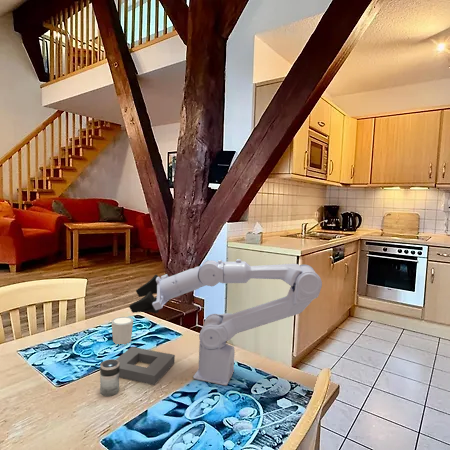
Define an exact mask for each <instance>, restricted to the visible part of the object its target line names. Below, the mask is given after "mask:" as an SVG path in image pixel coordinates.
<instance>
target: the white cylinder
mask: <svg viewBox="0 0 450 450" xmlns="http://www.w3.org/2000/svg"><path fill="white" fill-rule="evenodd" d="M133 326H134V319H133V317H129V316H120V317H115V318H113V319H112V320H111V332H112V342H114V343H115V344H114V343H113V344H114V345H117V344H119V345H118V346H121V345H120V344H124V345H128V344H130V343H131V341H132V335H133ZM129 342H130V343H129ZM127 343H128V344H127Z"/></svg>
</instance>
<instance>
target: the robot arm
mask: <svg viewBox="0 0 450 450" xmlns="http://www.w3.org/2000/svg"><path fill="white" fill-rule="evenodd" d="M251 279H259V280H260V279H261V280H262V279H263V280H282V282H284V283H286V284H287V285H289V286H290V287H289V289H288V292H287V294H286V296H283V297H281V298H277V299H274V300H271V301H268V302H265V303H261V304H259V305H256V306H252V307H249V308H246V309H243V310H239V311H237V312H234V313H228V312H227V313H226V312H225V313H222V314H221V313H220V314H219V313H211V314H209V315H208V316H206V318H205V320H204V322H203V325H202V328H201V330H200V332H199V335H198V336H199V337H198V338H199V345H198V348H199V349H198V368H197V371H196V372H195V373H194V374H193V376H192V379H193V380H198V381H203V382H207V383H211V384H217V385H222V386H228V384H229V382H230V380H231V378H232V376H233V374H234V373H235V369H234V368H235V346H233V345H230V344H228V343H227V341H230V340H231V339H233V338H234V337H235V336H236V335H237V334H239V333H240V334H241V333H243V332H245V331H249V330H252V329H255V328H258V327H261V326H264V325H268V324H271V323H274V322H279V321H280V320H283V319H286V318H290V317H293V316H296V315H299V314H302V313H303V312H304V311H305V309H306V308H307V307H309V305H310V304H311V303H312V301H314V300H315V299H317V298H319V296H320V293H321V289H322V287H323V281H322V278H321V276H320V275H319V274H318V273H317V272H316V271H315V269H314V268H313V267H312V266H311V265H308V264H298V263H282V264H281V263H279V264H264V265H250V264H249V263H248V262H247V261H245V260H243V261H242V259H241V258H237V259H236V260H235V261H223V260H222V259H218V260H217V261H215V260H208V259H207V260H205V261H204V262H203V263H202V265H199V266H195V267H194V268H188V269H186V270H184V271H181V272H179V273H176V274H173V275H170V276H169V275H168V274H167V273H166V274H163V275H160V276H159V275H158V274H155V275H153V276H152V278H151V279H150V280H149V281H147V282H146V283H145V284H143V285H142V286H140V287H139V288H137V289H136V290H135V292H136V294H137V296H138V297H139V298H140V299H138V300H137V301H134V302H132V303H131V304H130V305H129V306H128V308H129V309H130V310H131V313H132V314H133V313H153V314H158V313H159V311H160V310H161V309H163V307H164V305H166V304H167V302H169V301H170V300H172V299H174V298H178V297H180V296H183V295H184V294H188V293H190V292H193V291H197V290H199V289H200V288H202V287H205V286H208V287H212V288H213V287H214V286H217V285H218V284H219V283H220V284H247V283H248V281H250V280H251ZM154 294H155V295H156V296H154ZM141 297H142V298H141ZM233 372H234V373H233Z"/></svg>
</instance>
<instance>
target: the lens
mask: <svg viewBox="0 0 450 450" xmlns="http://www.w3.org/2000/svg"><path fill="white" fill-rule="evenodd" d="M99 365H100V366H99V372H100V374H99V375H100V378H99V382H100V383H99V387H100V388H99V394H100V395H101V396H103V397H112V396H114V395H117V394H119V391H120V377H119V371H120V362H119V361H118V360H116V358H115V359H113V358H112V359H105V360H104V361H102V362H100V364H99Z"/></svg>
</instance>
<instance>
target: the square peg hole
mask: <svg viewBox="0 0 450 450" xmlns="http://www.w3.org/2000/svg"><path fill="white" fill-rule="evenodd" d="M175 357H176V356H175V354H172V353H166V352H163V351H162V352H161V351H155V350H150V349H146V348H141V347H135V346H131V347H130V348H128V349H127V350H126V351H124V353H122V354H121V355H120V356H118V357H117V358H115V360H118V361H119V362H120V371H119V379H124V380H130V381H133V382H139V383H141V384H142V383H143V384H146V385H152V386H155V385H157V383H158V382H159V381H160V380H161V379H162V378H163V377H164V376H165V374H166V373H167V372H169V370H170V369H171V368H172V367H173V366H174V365H175V361H176V360H175ZM138 362H140V363H143V364H148V366H146V367H145V366H142V365H138V364H137V363H138Z"/></svg>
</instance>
